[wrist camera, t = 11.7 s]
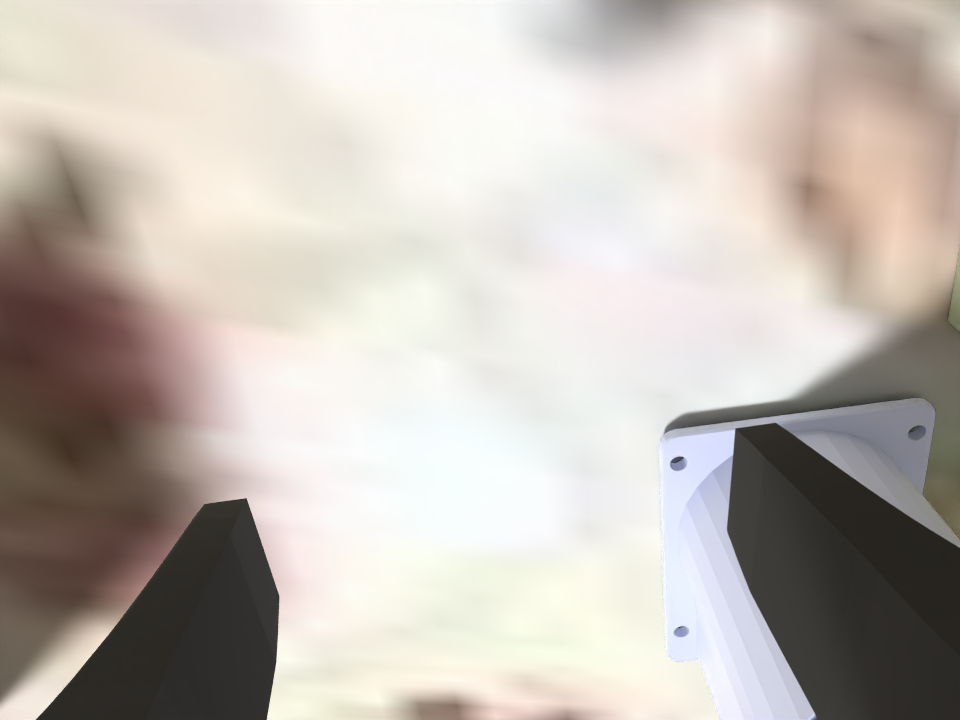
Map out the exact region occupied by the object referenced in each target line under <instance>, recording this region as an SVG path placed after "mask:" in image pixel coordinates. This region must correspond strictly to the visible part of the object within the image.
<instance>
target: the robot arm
mask: <svg viewBox="0 0 960 720" xmlns="http://www.w3.org/2000/svg"><path fill="white" fill-rule="evenodd" d="M935 416H936V414H935V409H934V408H933V406H932V405H931V404H930V403H929V402H928V401H927V400H925V399H923V398H910V399H903V400H895V401H887V402H880V403H872V404H864V405H857V406H849V407H841V408H834V409H826V410H818V411H811V412H803V413H795V414H788V415H780V416H772V417H765V418H757V419H749V420H742V421H734V422H726V423H719V424H711V425H703V426H696V427H688V428H680V429H674V430H671V431H668V432H667V433H665V434H664V435H663V436H662V438H661V439H660V442H659V470H660V503H661V536H662V569H663V601H664V634H665V648H666V652H667V655H668V657H669V658H670V659H671V660H673V661H676V662H683V661H692V660H699V662H700V665H701V668H702V671H703V674H704V677H705V680H706V683H707V686H708V689H709V691H710V694H711V697H712V700H713V703H714V706H715V709H716V712H717V715H718V718H719V720H960V540H959V538H958V537H957V536H956V535H955V534H954V532H953V531H952V530H951V529H950V528H949V526H948V525H947V524H946V523H945V522H944V520H943V519H942V518H941V517H940V515H939V514H938V513H937V512H936V511H935V509H934V508H933V507H932V506H931V505H930V503H929V502H928V501H927V500H926V499H925V497H924V496H923V490H924V484H925V477H926V471H927V465H928V459H929V453H930V447H931V441H932V435H933V429H934V423H935ZM918 425H919V426H918ZM915 426H918V428H917V429H916V430H915V431H913V432H910V433H909V430H910V429H912V428H913V427H915ZM678 456H681V457H684V458H683V459H682V460H681V461H680V462H677V463H671V460H672V459H673V458H675V457H678ZM278 616H279V594H278V591H277V588H276V585H275V582H274V579H273V576H272V573H271V570H270V567H269V564H268V561H267V558H266V555H265V552H264V549H263V546H262V543H261V540H260V537H259V534H258V531H257V528H256V525H255V522H254V519H253V516H252V513H251V510H250V507H249V504H248V501H247V498H245V499H238V500H231V501H224V502H217V503H210V504H204V506H203V507H202V508H201V509H200V511H199V512H198V513H197V515H196V516H195V517H194V519H193V520H192V521H191V523H190V524H189V526H188V527H187V528H186V530H185V531H184V533H183V534H182V536H181V537H180V538H179V540H178V541H177V543H176V544H175V546H174V547H173V548H172V550H171V551H170V553H169V554H168V555H167V557H166V558H165V560H164V561H163V563H162V564H161V565H160V567H159V568H158V570H157V571H156V572H155V574H154V575H153V576H152V578H151V579H150V581H149V582H148V583H147V585H146V586H145V587H144V589H143V590H142V591H141V593H140V594H139V595H138V597H137V598H136V599H135V601H134V602H133V603H132V605H131V606H130V607H129V609H128V610H127V611H126V613H125V614H124V615H123V617H122V618H121V619H120V621H119V622H118V623H117V625H116V626H115V627H114V629H113V630H112V631H111V632H110V634H109V635H108V636H107V637H106V639H105V640H104V641H103V642H102V643H101V645H100V646H99V647H98V648H97V650H96V651H95V652H94V653H93V654H92V656H91V657H90V658H89V659H88V661H87V662H86V663H85V664H84V665H83V667H82V668H81V669H80V670H79V672H78V673H77V674H76V675H75V676H74V678H73V679H72V680H71V681H70V682H69V684H68V685H67V686H66V687H65V688H64V689H63V690H62V692H61V693H60V694H59V695H58V696H57V697H56V698H55V699H54V701H53V702H52V703H51V704H50V705H49V706H48V707H47V708H46V710H45V711H44V712H43V713H42V714H41V715H40V716H39V717H38V718H37V719H36V720H267V714H268V708H269V702H270V696H271V690H272V685H273V679H274V672H275V666H276V656H277V639H278ZM680 626H683V627H682V628H677V627H680Z"/></svg>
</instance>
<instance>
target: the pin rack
mask: <svg viewBox="0 0 960 720" xmlns="http://www.w3.org/2000/svg"><path fill="white" fill-rule="evenodd" d="M948 322H949V323H950V324H951V325H952V326H954V327H955V328H956V329H957V330H959V331H960V249H959V255H958V261H957V267H956V274H955V280H954V286H953V292H952V298H951V305H950V311H949V317H948Z"/></svg>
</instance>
